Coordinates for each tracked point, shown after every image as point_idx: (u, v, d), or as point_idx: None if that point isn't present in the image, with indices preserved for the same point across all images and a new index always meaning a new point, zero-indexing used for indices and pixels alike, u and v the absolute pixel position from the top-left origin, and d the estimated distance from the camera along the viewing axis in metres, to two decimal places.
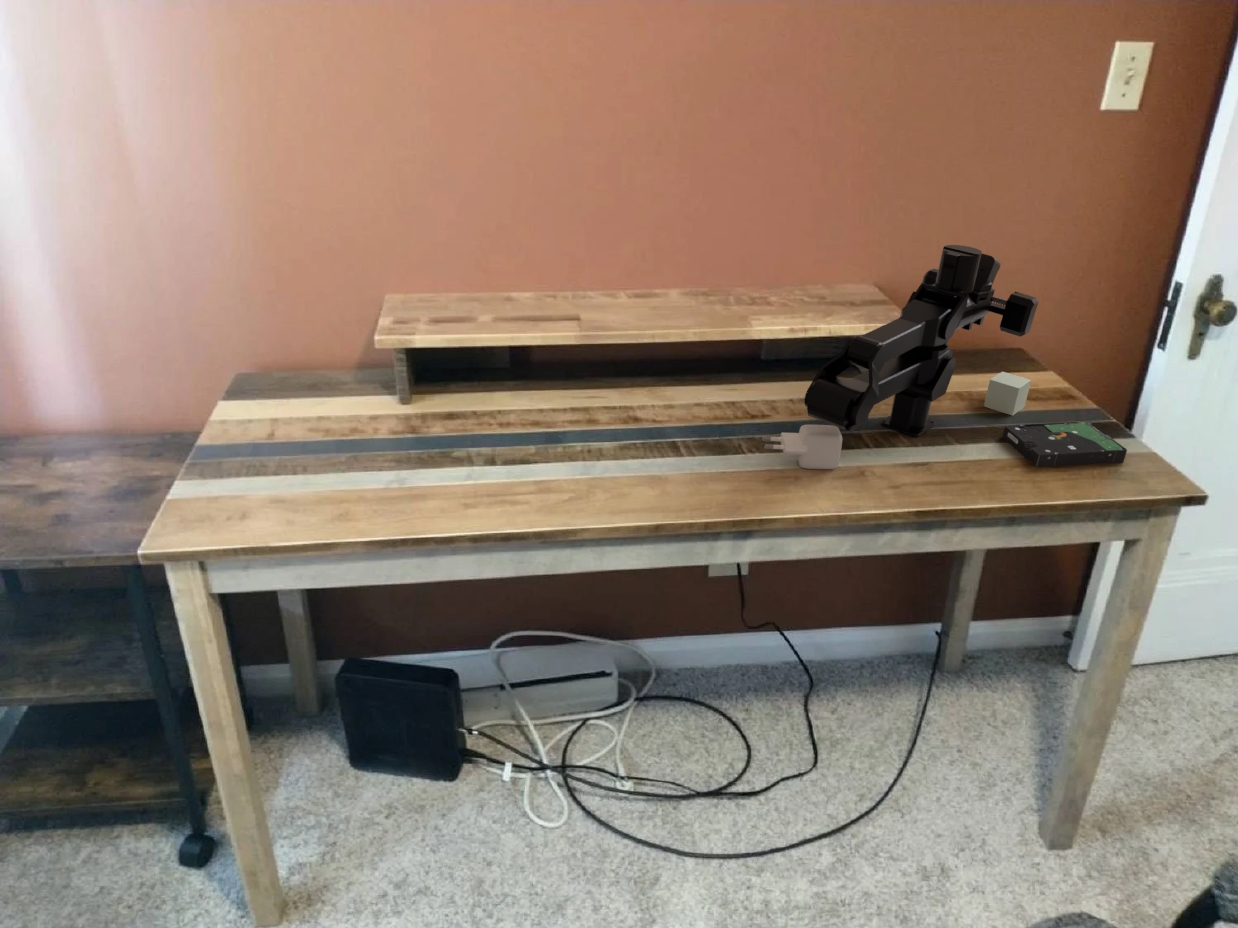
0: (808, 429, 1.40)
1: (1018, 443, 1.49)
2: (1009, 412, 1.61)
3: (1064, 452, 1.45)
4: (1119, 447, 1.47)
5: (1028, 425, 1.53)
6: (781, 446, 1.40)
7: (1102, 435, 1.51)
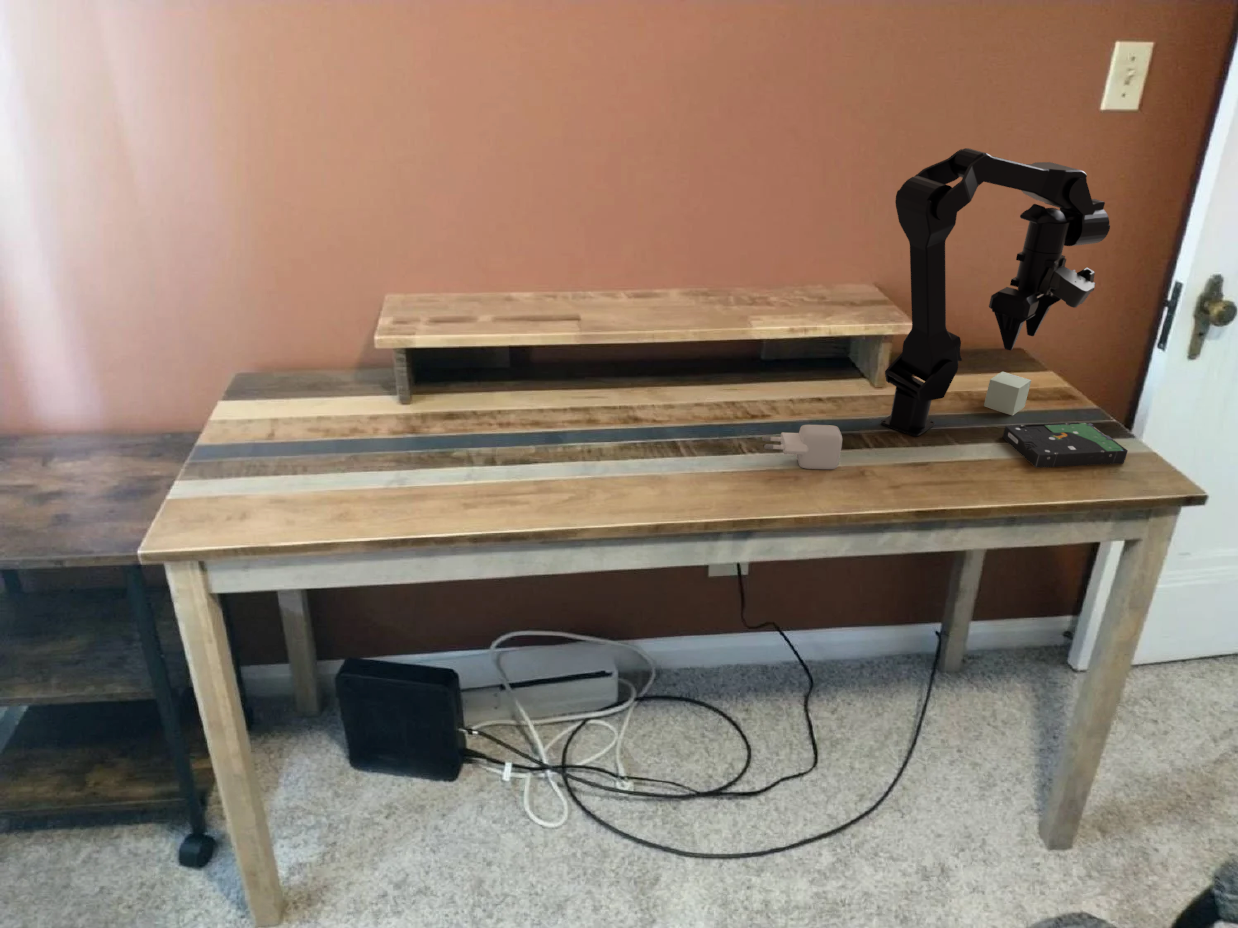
0: (808, 429, 1.40)
1: (1018, 443, 1.49)
2: (1009, 412, 1.61)
3: (1064, 452, 1.45)
4: (1119, 447, 1.47)
5: (1029, 425, 1.53)
6: (781, 446, 1.40)
7: (1103, 436, 1.50)
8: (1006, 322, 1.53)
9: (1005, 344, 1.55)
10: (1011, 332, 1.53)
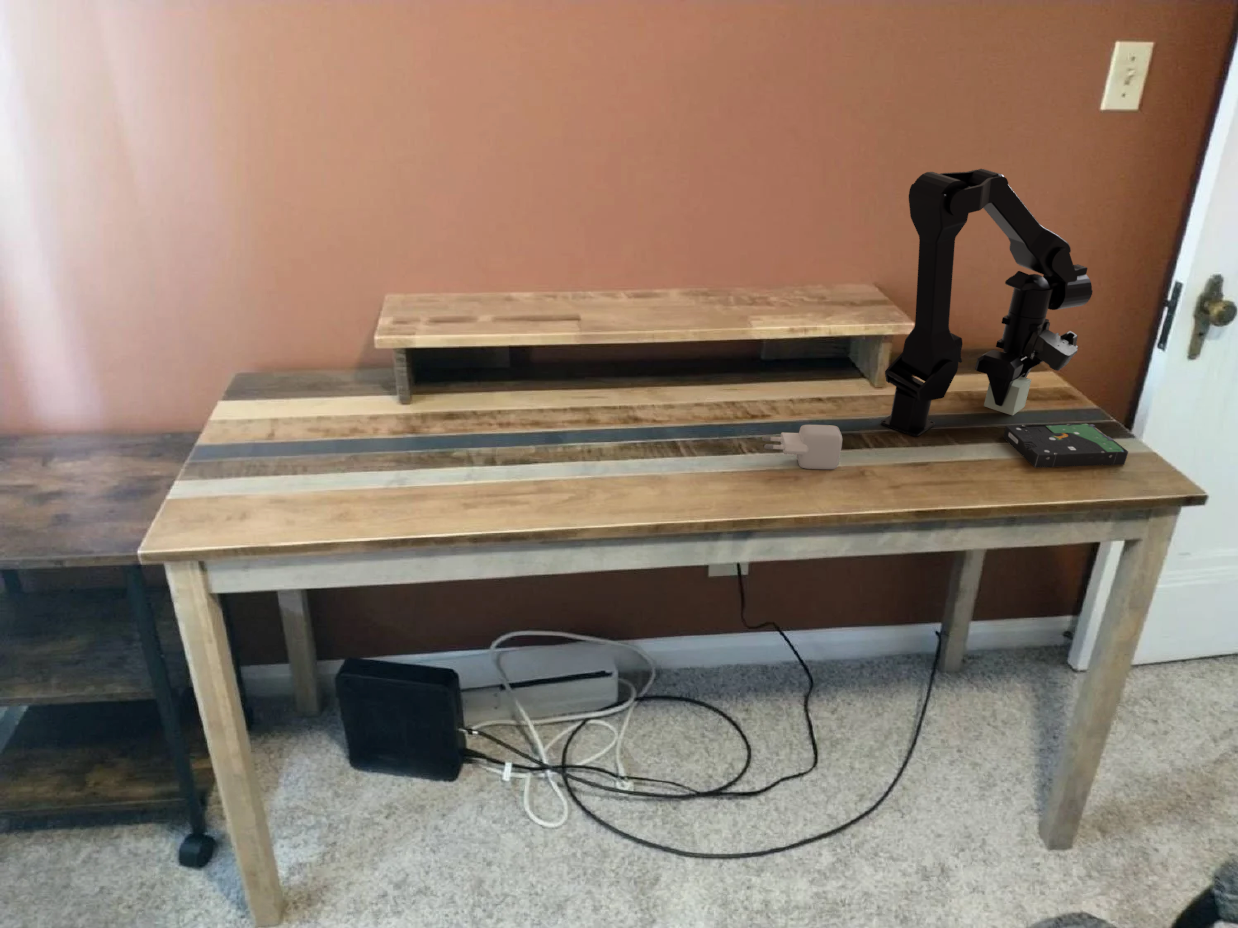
0: (808, 429, 1.40)
1: (1018, 443, 1.49)
2: (1009, 411, 1.61)
3: (1063, 453, 1.45)
4: (1120, 448, 1.47)
5: (1030, 425, 1.53)
6: (781, 446, 1.40)
7: (1104, 437, 1.50)
8: (997, 380, 1.59)
9: (996, 400, 1.61)
10: (1001, 389, 1.59)
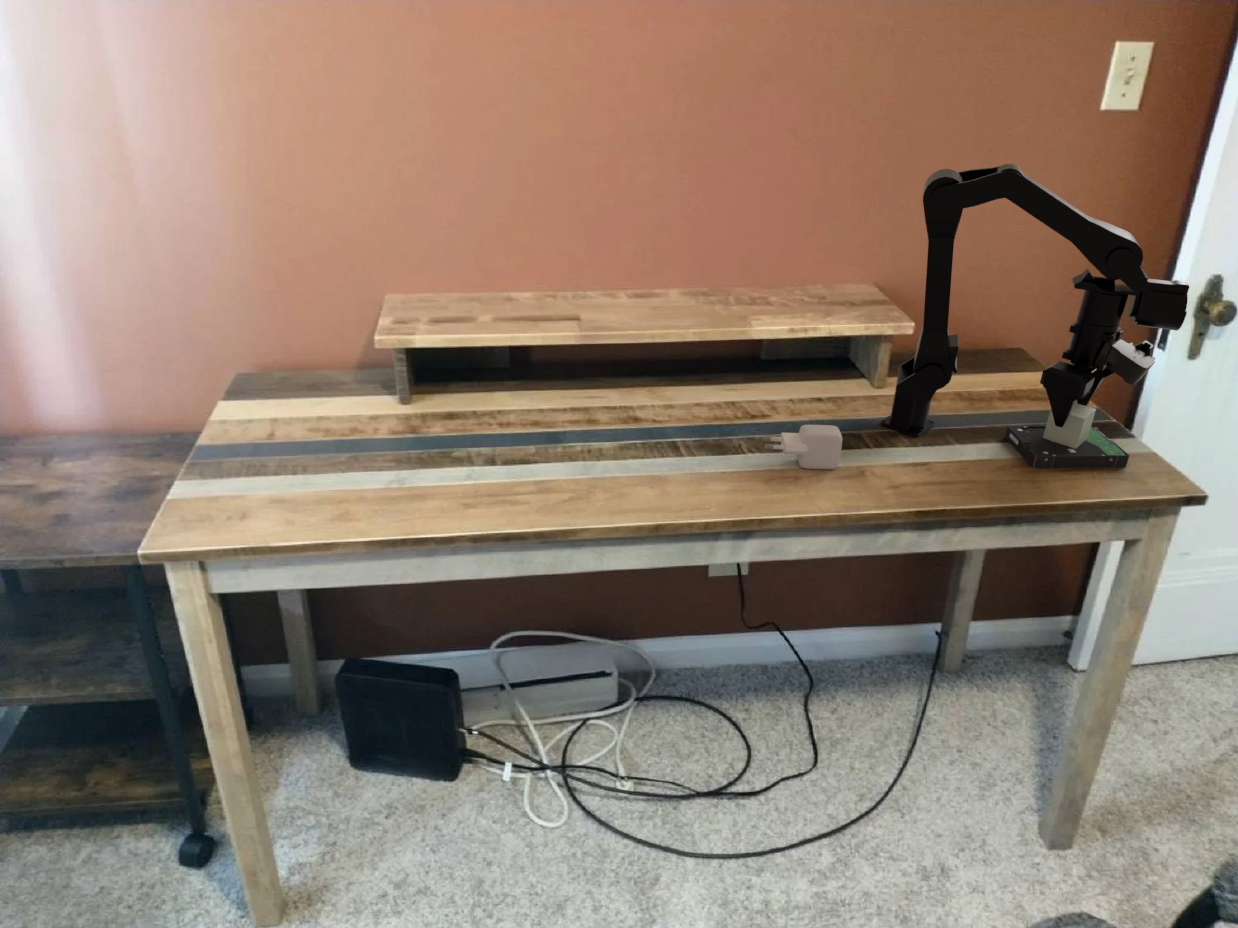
0: (808, 429, 1.40)
1: (1018, 444, 1.49)
2: (1072, 444, 1.47)
3: (1062, 454, 1.45)
4: (1121, 452, 1.46)
5: (1032, 427, 1.53)
6: (781, 446, 1.40)
7: (1107, 440, 1.50)
8: (1058, 398, 1.42)
9: (1056, 420, 1.44)
10: (1063, 409, 1.42)
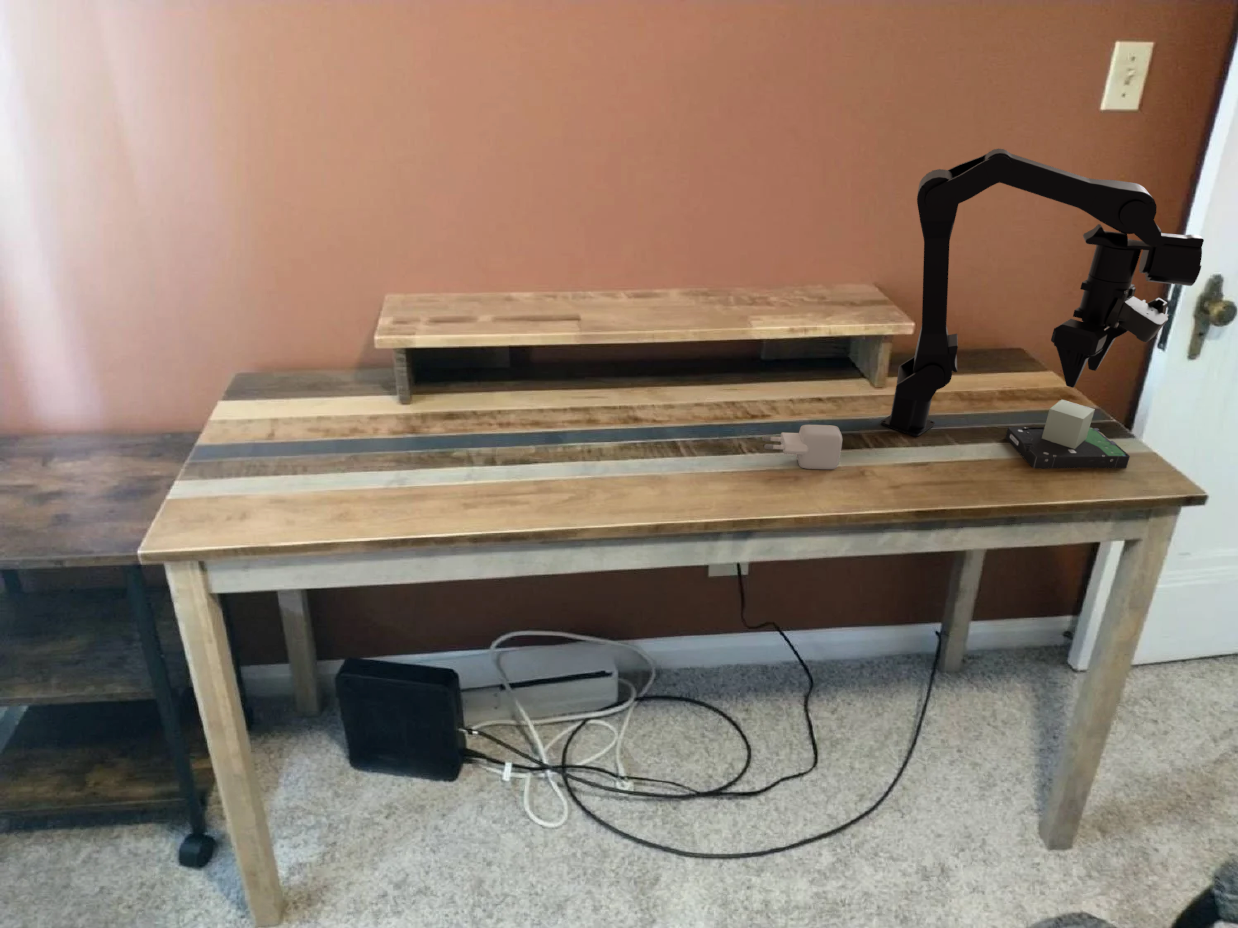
0: (808, 429, 1.40)
1: (1019, 445, 1.49)
2: (1071, 445, 1.46)
3: (1063, 455, 1.44)
4: (1122, 453, 1.46)
5: (1032, 428, 1.53)
6: (781, 446, 1.40)
7: (1107, 441, 1.49)
8: (1069, 357, 1.39)
9: (1067, 381, 1.41)
10: (1074, 368, 1.40)
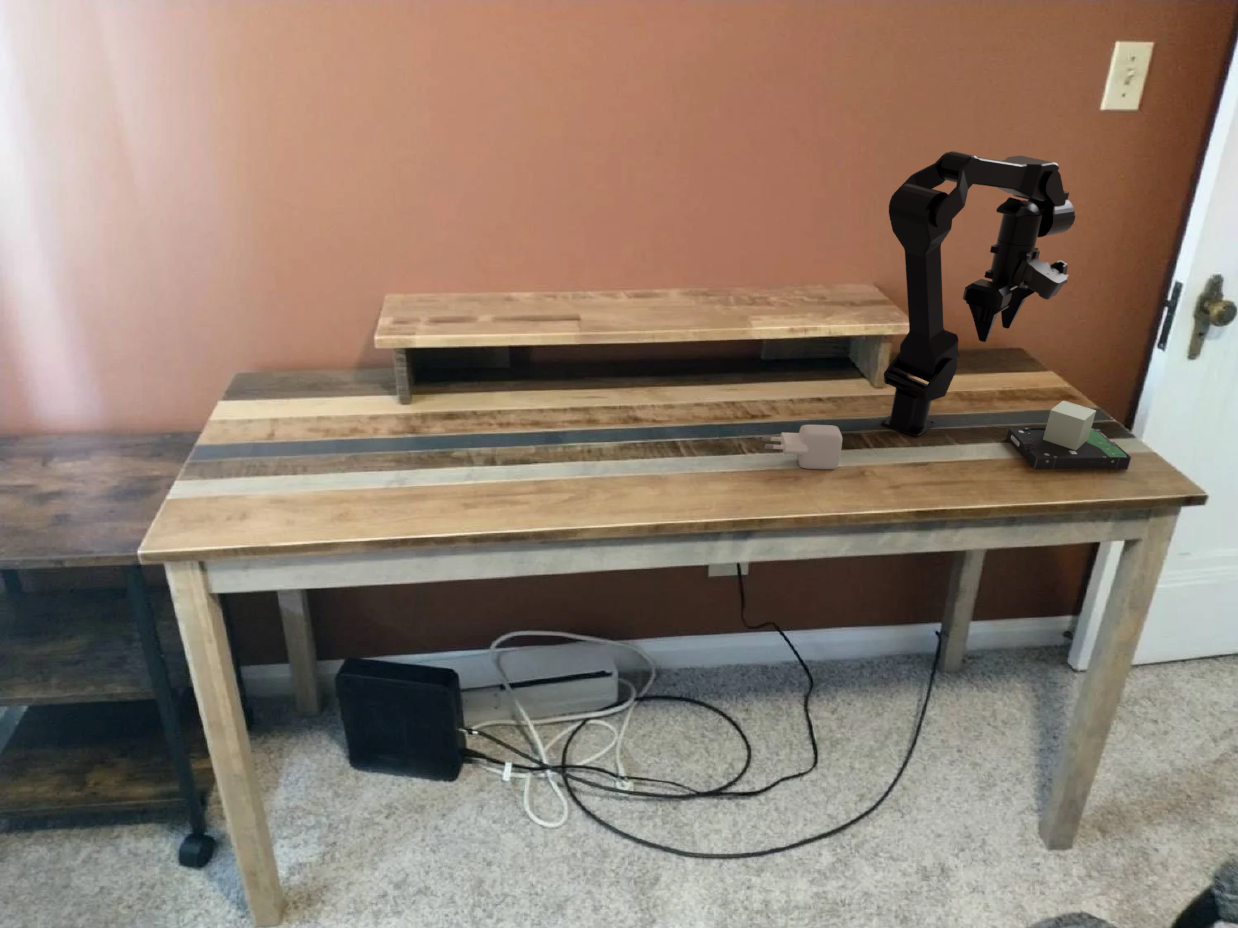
0: (809, 429, 1.40)
1: (1019, 446, 1.49)
2: (1072, 446, 1.46)
3: (1064, 456, 1.44)
4: (1123, 454, 1.46)
5: (1033, 428, 1.52)
6: (781, 446, 1.40)
7: (1108, 442, 1.49)
8: (980, 314, 1.54)
9: (979, 336, 1.56)
10: (985, 324, 1.54)
